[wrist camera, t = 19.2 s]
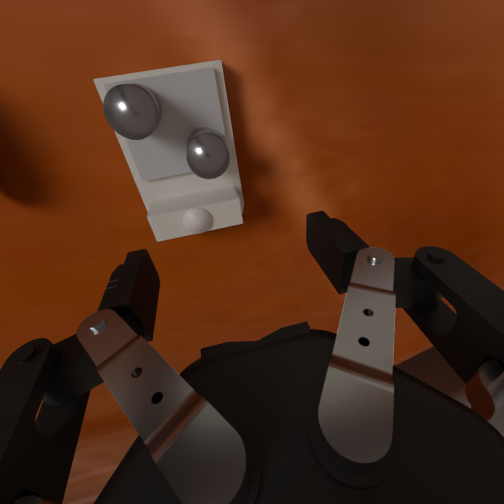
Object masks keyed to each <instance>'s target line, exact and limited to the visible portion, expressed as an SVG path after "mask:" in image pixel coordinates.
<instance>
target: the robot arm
mask: <svg viewBox="0 0 504 504" xmlns="http://www.w3.org/2000/svg"><path fill="white" fill-rule="evenodd" d="M306 241H307V246H308V249H309V251H310V253H311V254H312V256H313V257H314V258H315V260H316V261H317V263H318V264H319V266H320V267H321V269H322V270H323V272H324V273H325V274H326V276H327V277H328V279H329V280H330V282H331V283H332V285H333V286H334V288H335V289H336V290H337V292H338V293H339V294H343V293H347V294H346V298H345V303H344V307H343V311H342V315H341V319H340V324H339V328H338V332H337V334H335V333H332V332H329V331H324V330H317V329H310V327H309V325H308V323H307V322H303V323H299V324H295V325H291V326H287V327H283V328H281V329H279V330H277V331H275V332H273V333H271V334H269V335H267V336H265V337H263V338H262V339H260V340H257V341H243V342H225V343H221V344H217V345H213V346H210V347H206V348H202V349H201V358H200V359H198V360H196V361H195V362H193V363H192V364H190V365H189V366H188V367H187V368H185V369H184V370H183V371H182V372H181V373H180V375H179V374H178V373H177V372H176V371H175V370H174V369H173V368H172V367H171V366H170V365H169V364H168V363H167V362H166V361H165V360H164V359H163V357H162V356H161V355H160V354H159V353H158V352H157V351H156V350H155V349H154V348H153V347H152V346H151V345H150V344H149V343H148V342H149V341H152V340H153V333H154V325H155V318H156V311H157V303H158V296H159V288H160V280H159V276H158V273H157V271H156V268H155V266H154V264H153V262H152V260H151V258H150V256H149V253H148V252H147V250H146V249H142V250H137V251H132V252H129V253H128V254H127V257H126V260H125V263H124V264H122V265H119V266H118V267H117V268H116V269H115V270H114V271H113V273H112V275H111V277H110V280H109V283H108V285H107V289H106V290H105V293H104V295H103V298H102V301H101V303H100V306H99V308H98V311H97V312H95V313H93V314H91V315H90V316H88V317H87V318H86V319H85V320H84V321H83V322H82V323H81V324H80V325H79V327H78V329H77V332H76V334H75V335H73V336H71V337H69V338H66V339H64V340H62V341H60V342H58V343H56V344H54V345H53V344H52V343H51V342H50V341H49V340H48V339H46V338H39V339H35V340H32V341H30V342H28V343H26V344H24V345H22V346H21V347H19V348H18V349H17V350H16V351H14V352H13V353H12V354H11V355H10V356H9V357H8V359H7V360H6V361H5V363H4V365H3V366H2V368H1V370H0V504H62V502H63V498H64V494H65V490H66V486H67V482H68V478H69V474H70V470H71V466H72V462H73V458H74V454H75V450H76V446H77V442H78V438H79V434H80V430H81V426H82V422H83V418H84V414H85V410H86V406H87V402H88V398H89V394H90V390H91V389H92V388H94V387H96V386H98V385H99V384H101V383H103V382H105V384H106V385H107V387H108V388H109V390H110V391H111V393H112V394H113V396H114V397H115V399H116V400H117V402H118V404H119V405H120V407H121V408H122V410H123V411H124V413H125V414H126V416H127V417H128V419H129V420H130V422H131V423H132V425H133V426H134V428H135V429H136V431H137V432H138V434H139V435H138V437H137V438H136V440H135V441H134V443H133V444H132V446H131V447H130V449H129V450H128V452H127V454H126V455H125V457H124V458H123V460H122V461H121V463H120V464H119V466H118V467H117V469H116V470H115V472H114V473H113V475H112V476H111V478H110V479H109V481H108V482H107V484H106V485H105V487H104V488H103V490H102V492H101V493H100V495H99V496H98V498H97V499H96V501H95V502H94V504H504V291H503V290H502V289H500V288H499V287H498V286H496V285H495V284H494V283H492V282H491V281H490V280H488V279H487V278H486V277H484V276H483V275H482V274H480V273H479V272H477V271H476V270H475V269H473V268H472V267H471V266H469V265H468V264H467V263H465V262H464V261H463V260H461V259H460V258H459V257H457V256H456V255H454V254H453V253H452V252H450V251H448V250H446V249H443V248H439V247H432V246H427V247H421V248H419V249H418V250H417V251H416V253H415V256H414V258H394V257H393V255H392V254H391V253H389V252H388V251H386V250H384V249H381V248H375V247H369V246H368V245H367V244H366V243H365V242H364V241H363V240H362V239H361V238H360V237H359V236H358V235H357V234H356V233H354V232H353V231H352V230H351V229H349V227H348V226H347V225H346V224H345V223H344V222H342V221H340V220H338V219H336V218H332V219H331V218H330V217H329V216H328V215H327V214H326V213H325V212H324V211H319V212H314V213H309V214H307V220H306ZM442 296H443V297H444V298H445V299H446V300H447V301H448V302H449V303H450V304H451V305H452V306H453V307H454V308H455V310H456V313H457V315H456V314H455V313H454V312H453V311H452V310H451V309H450V308H449V307H448V306H447V305H446V304H445V303H444V302H443V301H442V300H441V299H442ZM395 308H403V309H404V310H405V311H406V313H407V314H408V315H409V316H410V317H411V319H412V320H413V321H414V322H415V323H416V325H417V326H418V327H419V328H420V330H421V331H422V332H423V333H424V334H425V336H426V337H427V338H428V339H429V340H430V342H431V343H432V344H433V345H434V346H435V348H436V349H437V350H438V351H439V352H440V354H441V355H442V356H443V357H444V359H445V360H446V361H447V362H448V363H449V365H450V366H451V367H452V368H453V369H454V371H455V372H456V373H457V374H458V375H459V377H460V378H461V379H462V380H463V382H464V383H465V384H466V386H465V394H466V397H467V399H468V401H469V403H470V404H471V406H472V407H471V409H470V408H468V407H467V406H465V405H464V404H462V403H460V402H458V401H456V400H454V399H453V398H451V397H449V396H448V395H446V394H444V393H442V392H440V391H439V390H437V389H435V388H433V387H431V386H429V385H428V384H426V383H424V382H422V381H421V380H419V379H417V378H415V377H414V376H412V375H409V374H408V373H406V372H405V371H403V370H400V369H399V368H397V367H396V366H394V365H393V348H394V325H395ZM41 401H43V404H42V406H41V409H40V411H39V414H38V417H37V419H36V422H35V418H36V414H37V411H38V409H39V406H40V404H41Z"/></svg>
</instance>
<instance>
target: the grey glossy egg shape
mask: <svg viewBox="0 0 504 504" xmlns="http://www.w3.org/2000/svg"><path fill="white" fill-rule="evenodd" d="M103 108H104V114H105V117H106V119H107V121H108V123H109V124H110V126H111V127H112V128H113V129H114V130H115V131H116V132H117V133H118V134H120V135H121V136H123V137H125V138H128V139H131V140H141V139H145V138H147V137H148V136H150V135H151V134H152V133H153V131H154V130H155V128H156V127H157V125H158V124H159V122H160V120H161V117H162V108H161V104H160V101H159V99H158V97H157V96H156V95H155V93H154V92H153V91H152V90H151V89H149V88H148V87H146V86H144V85H142V84H138V83H130V84H120V85H116V86H114V87H112V88H111V89H110V90H109V91H108V92H107V94H106V95H105V98H104V103H103Z"/></svg>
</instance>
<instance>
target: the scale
mask: <svg viewBox="0 0 504 504" xmlns="http://www.w3.org/2000/svg"><path fill="white" fill-rule="evenodd" d="M93 80H94V83H95V85H96V87H97V90H98V92H99V95H100V97H101V100H102V102H103V103H104V98H105V95H106V94H107V92H108V91H109V90H110V89H111V88H112V87H114V86H116V85H120V84H130V83H138V84H142V85H144V86H146V87H148V88H149V89H151V90H152V91H153V92H154V93H155V95H156V96H157V97H158V99H159V101H160V104H161V108H162V117H161V120H160V122H159V124H158V125H157V127H156V128H155V130H154V131H153V133H152V134H151V135H150V136H148V137H147V138H145V139H141V140H131V139H128V138H125V137H123V136H121V135H120V134H118V133H117V132H116V131H115V130H114V131H115V134H116V136H117V138H118V141H119V143H120V146H121V148H122V151H123V153H124V155H125V158H126V160H127V163H128V165H129V168H130V170H131V172H132V175H133V177H134V180H135V182H136V185H137V187H138V189H139V192H140V194H141V197H142V199H143V202H144V204H145V206H146V209H147V211H148V215H147V218H148V221H149V223H150V225H151V228H152V230H153V233H154V235H155V237H156V240H157V242H158V241H163V240H168V239H172V238H177V237H182V236H186V235H191V234H199V233H203V232H205V231H210V230H215V229H219V228H224V227H229V226H233V225H238V224H243V220H242V214H241V213H243V211H244V208H243V207H244V201H243V195H242V189H241V182H240V176H239V170H238V164H237V157H236V151H235V145H234V138H233V132H232V126H231V119H230V113H229V107H228V100H227V94H226V88H225V81H224V75H223V69H222V62H221V60H217V61H210V62H203V63H197V64H190V65H184V66H177V67H171V68H164V69H157V70H151V71H144V72H138V73H131V74H124V75H118V76H111V77H105V78H98V79H93ZM202 127H208V128H211V129H213V130H215V131H217V132H218V133H219V134H220V136H221V137H222V139H223V141H224V143H225V144H226V146H227V148H228V151H229V155H230V161H229V166H228V168H227V170H226V171H225V172H224V173H223V174H222V175H221V176H219V177H217V178H215V179H204V178H201V177H199V176H197V175H196V174H194V173H193V172H192V170H191V169H190V167H189V165H188V163H187V141H188V138H189V136H190V135H191V133H192V132H193V131H194V130H196V129H198V128H202Z"/></svg>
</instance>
